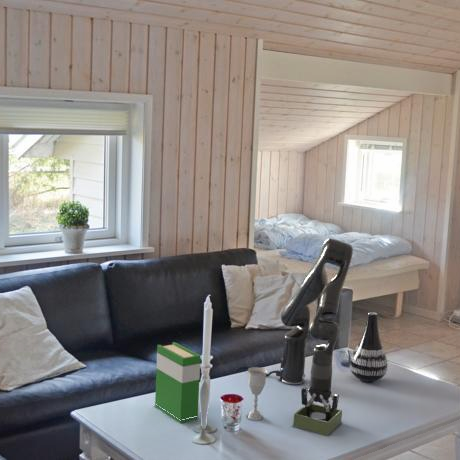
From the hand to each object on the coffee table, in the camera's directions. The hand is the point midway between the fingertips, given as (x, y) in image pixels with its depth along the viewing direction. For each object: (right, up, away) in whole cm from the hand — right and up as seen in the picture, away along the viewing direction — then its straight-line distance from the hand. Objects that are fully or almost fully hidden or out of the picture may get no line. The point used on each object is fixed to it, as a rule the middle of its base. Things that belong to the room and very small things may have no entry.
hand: (318, 418), depth 283 cm
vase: (+26, +4, +50) cm, 56 cm away
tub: (0, -2, 0) cm, 2 cm away
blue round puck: (0, -1, 0) cm, 1 cm away
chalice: (-23, -1, +4) cm, 23 cm away
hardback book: (-52, +1, +4) cm, 52 cm away
